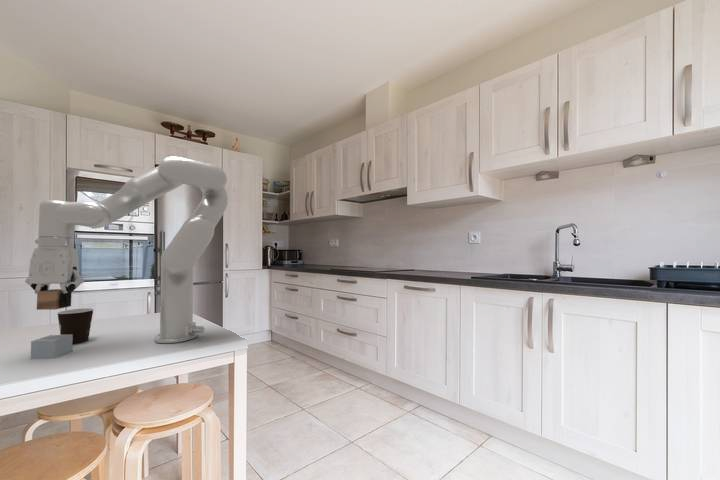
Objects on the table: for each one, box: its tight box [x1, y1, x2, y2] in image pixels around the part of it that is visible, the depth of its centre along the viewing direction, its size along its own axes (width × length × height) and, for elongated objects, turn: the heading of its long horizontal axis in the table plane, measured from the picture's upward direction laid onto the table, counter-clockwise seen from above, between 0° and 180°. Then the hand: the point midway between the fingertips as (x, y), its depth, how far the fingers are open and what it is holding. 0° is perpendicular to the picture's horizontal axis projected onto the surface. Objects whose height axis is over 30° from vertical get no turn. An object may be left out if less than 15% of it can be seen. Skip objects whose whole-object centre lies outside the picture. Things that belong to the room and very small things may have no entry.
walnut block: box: [36, 288, 72, 311], centre depth 89 cm, size 5×5×5 cm
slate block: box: [30, 334, 73, 360], centre depth 89 cm, size 6×6×5 cm
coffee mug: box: [57, 307, 94, 346], centre depth 102 cm, size 12×9×10 cm
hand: (54, 306), depth 89 cm, fingers closed on walnut block, 5 cm apart
